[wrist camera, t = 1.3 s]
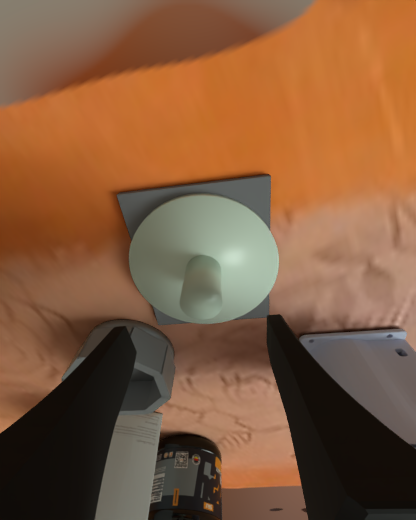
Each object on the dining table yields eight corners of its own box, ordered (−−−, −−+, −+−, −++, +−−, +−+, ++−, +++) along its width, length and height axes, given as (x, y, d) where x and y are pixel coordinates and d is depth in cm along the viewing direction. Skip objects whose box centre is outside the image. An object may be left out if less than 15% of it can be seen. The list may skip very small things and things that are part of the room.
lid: (278, 183, 14) (301, 204, 11) (274, 312, 20) (289, 357, 16) (111, 203, 15) (77, 229, 12) (152, 321, 21) (138, 366, 17)
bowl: (164, 316, 21) (154, 352, 18) (181, 374, 26) (176, 413, 22) (72, 323, 22) (46, 359, 19) (105, 378, 27) (88, 416, 23)
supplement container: (213, 465, 38) (213, 590, 28) (150, 458, 38) (126, 584, 27) (228, 436, 33) (235, 578, 23) (155, 427, 32) (128, 570, 22)
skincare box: (95, 419, 31) (14, 621, 19) (103, 397, 29) (14, 617, 16) (154, 432, 33) (116, 627, 20) (167, 412, 30) (133, 625, 17)
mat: (268, 174, 15) (270, 175, 14) (267, 312, 21) (268, 317, 20) (119, 192, 16) (116, 194, 15) (159, 320, 22) (158, 325, 21)
